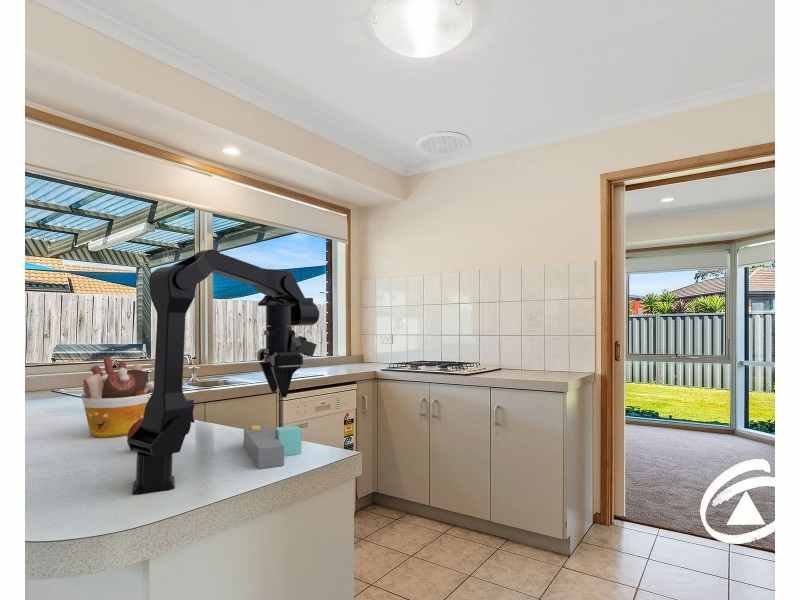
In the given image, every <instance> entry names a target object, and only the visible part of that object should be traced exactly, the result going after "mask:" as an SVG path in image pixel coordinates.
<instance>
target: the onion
mask: <svg viewBox="0 0 800 600" xmlns="http://www.w3.org/2000/svg"><path fill="white" fill-rule="evenodd" d="M142 420H143V415H142V416H140V419H139V420H138V421H137V422H136V423H134V424H133V425H132V426H131V428H130V429H129V431H128V435H127V436H126V438H127V440H128V438H129V437H130V436H131V435H132V434H133V433H134V432H135V431H136V429H137V428H138V427H139V426H140V425H141V424H142Z"/></svg>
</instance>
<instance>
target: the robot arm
mask: <svg viewBox="0 0 800 600" xmlns="http://www.w3.org/2000/svg"><path fill="white" fill-rule="evenodd" d="M211 274H215V275H219V276H221V277H225V278H227V279H231V280H234V281H237V282H240V283H244V284H246V285H250V286H252V287H253V288H254V289H256V291H258V292H259V293H261V294H263V295H264V297H263V298H262V299H261V300H259V302H257V306H258V307H265V320H266V321H265V330H263V335H264V336H265V348H260V349H259V350H258V351H257V352H256V359H257V360H256V361H258V365H259V366H260V368H261V370H262V373H263V375H264V377H265V378H264V379H265V380H266V382H267V384H268V386H269V389H270V392H272V393H276V392H277V390H278V392H279V394H280V396H281V398H287V396H288V393H289V389H290V386H291V382H292V378H293V375H294V374H295V373H296V371H298V370H299V369H300V368H301V367H302V365H304V356H307V357H311V358H313V357H314V354H315V351H316V347H317V345H318V344H317V343H314V342H311V341H308V339H307V337H304V336H302V335H298V337H297V336H296V331H295V330H292V329H293V326H296V327H297V326H299V327H300V326H314V325H316V324H317V322H318V321H319V318H320V310H319V308H318V306H317V305H316V303H315V302H314V298H313V297H305V295H304V293H303V292H302V290H301V288H300V286H299V284H298V282H297V280H296V277H295V274H293V272H291V271H290V270H282V269H275V268H274V269H273V268H272V269H271V268H263V267H260V266H257V265H255V264H251V263H250V262H246V261H243V260H241V259H238V258H235V257H233V256H229V255H227V254H224V253H222V252H219V251H218V250H216V249H212V248H211V249H205V250H200V251H197V252H196V253H194V254H193V255H191V256H189V257H187V258H185V259H183V260H181V261H178V262H176V263H175V264H172V265H170V266H169V265H167V266H161V267H159V268H156V269H155V270H153V271H152V272H151V273H150V274H149V279H148V288H149V294H150V295H149V296H150V300H151V302H152V305H153V306H154V309H155V312H156V333H155V334H156V336H155V351H154V352H155V353H154V354H155V355H154V373H153V375H154V377H153V383H154V389H152V390H153V391H152V394H150V396H149V399H148V403H147V404H146V407H145V411H144V415H143V420H142V424H141V425H140V426H139V427H138V428H137V429H136V431H135V432H134V433H133V434H132V435H131V436H130V437H129V438H128V439H127V440H126V442H127V445H128V448H129V450H130V451H132V452H133V451H134V452H136V464H135V465H136V466H135V468H136V469H135V471H136V473H135V476H136V477H135V480H134V481H133V486H132V494H133V495H136V494H137V495H138V494H143V493H149V492H157V491H163V490H165V491H166V490H172V489H175V486H176V485H175V483H176V482H175V475H173V454H177V453H179V452H181V449H182V447H183V443H184V441H185V438H186V436H187V435H188V434H189V433H190V431H191V426H192V423H193V424H194V423H195V419H194V409H195V400H193V399H188V398H186V397H185V394H184V391H183V385H184V384H183V382H184V357H185V355H184V354H185V339H186V338H185V335H186V333H185V332H186V315H187V313H188V311H189V308H190V307H191V305H192V303H193V301H194V300H195V294H196V289H197V285H198V284H200V283H201V282H202V281H204V280H205V279H206V278H208V277H209V276H210V275H211Z"/></svg>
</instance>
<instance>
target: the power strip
mask: <svg viewBox="0 0 800 600" xmlns="http://www.w3.org/2000/svg"><path fill="white" fill-rule="evenodd" d="M243 448H244V449H245V450H246V451H247V454H248V455H249V456H250V459H252V461H253V463H254V464H255V466H256V467H257V470H258V469H259V470H263V469H268V468H269V469H270V468H274V467H275V468H276V467H282V466H283V467H284V466H285V456H284V445H283V444H282V443H281V442H280V441H279V440H278V439H277V438H276V437H275V434H273V433H272V432H271V431H270V429H268V427H266V426H263V427H262V426H261V425H252V426H250V428H249V427H248V428H243Z"/></svg>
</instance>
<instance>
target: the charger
mask: <svg viewBox="0 0 800 600" xmlns="http://www.w3.org/2000/svg"><path fill="white" fill-rule="evenodd" d="M274 436H275V437H276V438H277V439H278V440H279V441H280V442H281V443H282V444H283V445H284V457H288V456H294V455H295V456H296V455H301V454H302V428H301V427H299V426H298V425H289V426H288V425H287V426H280V427H279V426H277V427H274Z"/></svg>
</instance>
